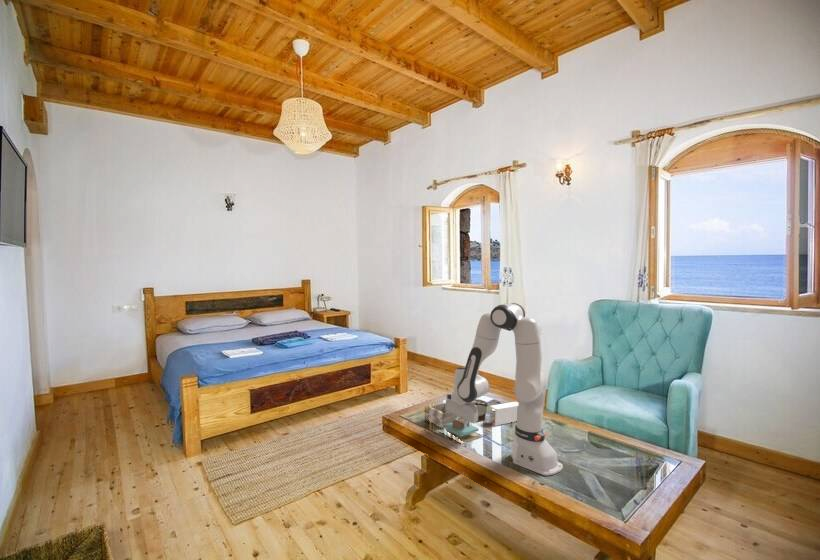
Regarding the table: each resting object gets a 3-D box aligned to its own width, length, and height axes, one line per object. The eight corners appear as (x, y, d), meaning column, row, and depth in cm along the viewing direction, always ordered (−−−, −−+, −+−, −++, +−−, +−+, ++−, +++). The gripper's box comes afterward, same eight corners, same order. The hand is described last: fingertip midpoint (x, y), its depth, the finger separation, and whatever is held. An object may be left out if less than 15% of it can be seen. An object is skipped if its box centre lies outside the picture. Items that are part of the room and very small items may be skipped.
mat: (481, 437, 200) (481, 436, 200) (461, 444, 192) (461, 443, 192) (459, 426, 213) (459, 425, 213) (439, 432, 204) (439, 431, 204)
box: (459, 424, 216) (459, 409, 215) (442, 429, 208) (443, 414, 208) (444, 416, 225) (445, 402, 225) (428, 421, 218) (428, 406, 218)
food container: (486, 416, 227) (487, 399, 227) (487, 421, 221) (488, 403, 221) (464, 415, 229) (465, 398, 228) (465, 419, 222) (465, 401, 222)
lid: (478, 432, 201) (478, 422, 201) (460, 438, 193) (460, 428, 193) (460, 424, 211) (461, 414, 211) (442, 429, 203) (443, 419, 203)
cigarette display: (515, 417, 228) (515, 401, 228) (521, 421, 223) (522, 404, 223) (487, 422, 219) (488, 406, 219) (493, 426, 214) (494, 409, 214)
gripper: (481, 403, 195) (480, 431, 196) (452, 391, 211) (451, 417, 212) (472, 405, 191) (471, 434, 192) (444, 393, 207) (442, 419, 208)
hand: (460, 425), depth 202 cm, fingers closed on lid, 4 cm apart
